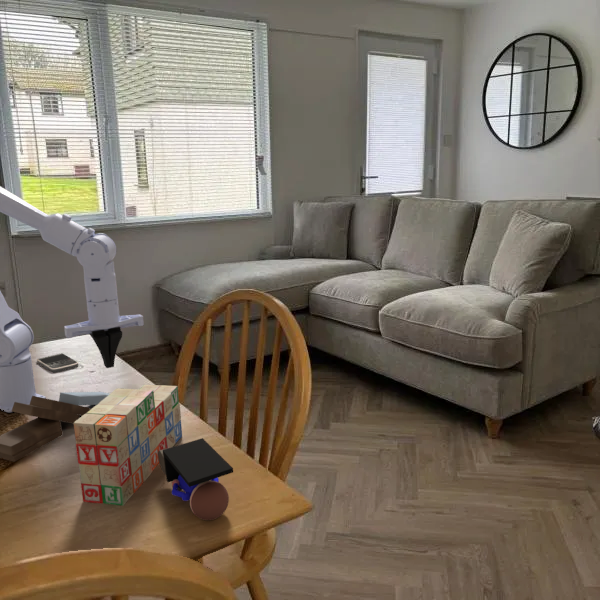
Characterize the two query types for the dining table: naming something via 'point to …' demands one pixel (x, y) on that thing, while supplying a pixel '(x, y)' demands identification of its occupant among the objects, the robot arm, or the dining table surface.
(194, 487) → the figurine character
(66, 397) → the domino
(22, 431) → the domino
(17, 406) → the domino
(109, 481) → the stack of blocks
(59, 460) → the dining table surface
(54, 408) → the domino
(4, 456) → the domino
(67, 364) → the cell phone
